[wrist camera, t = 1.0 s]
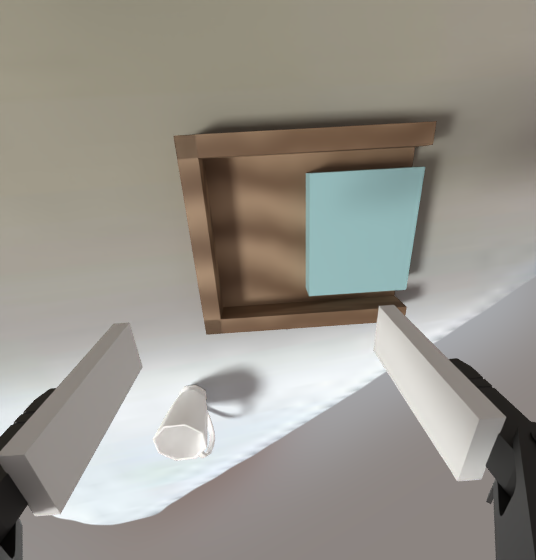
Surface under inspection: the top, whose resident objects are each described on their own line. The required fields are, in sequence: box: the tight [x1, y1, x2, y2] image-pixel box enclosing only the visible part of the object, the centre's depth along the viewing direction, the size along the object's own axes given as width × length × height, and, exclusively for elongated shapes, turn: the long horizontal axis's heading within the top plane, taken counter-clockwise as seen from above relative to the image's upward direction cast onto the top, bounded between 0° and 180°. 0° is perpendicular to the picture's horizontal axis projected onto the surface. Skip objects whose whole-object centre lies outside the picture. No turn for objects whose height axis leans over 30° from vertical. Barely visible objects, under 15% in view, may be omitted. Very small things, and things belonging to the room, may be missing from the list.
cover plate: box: [306, 167, 425, 296], centre depth 32 cm, size 14×12×2 cm
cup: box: [153, 385, 215, 461], centre depth 39 cm, size 7×10×8 cm
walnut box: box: [174, 121, 437, 335], centre depth 32 cm, size 22×25×4 cm
